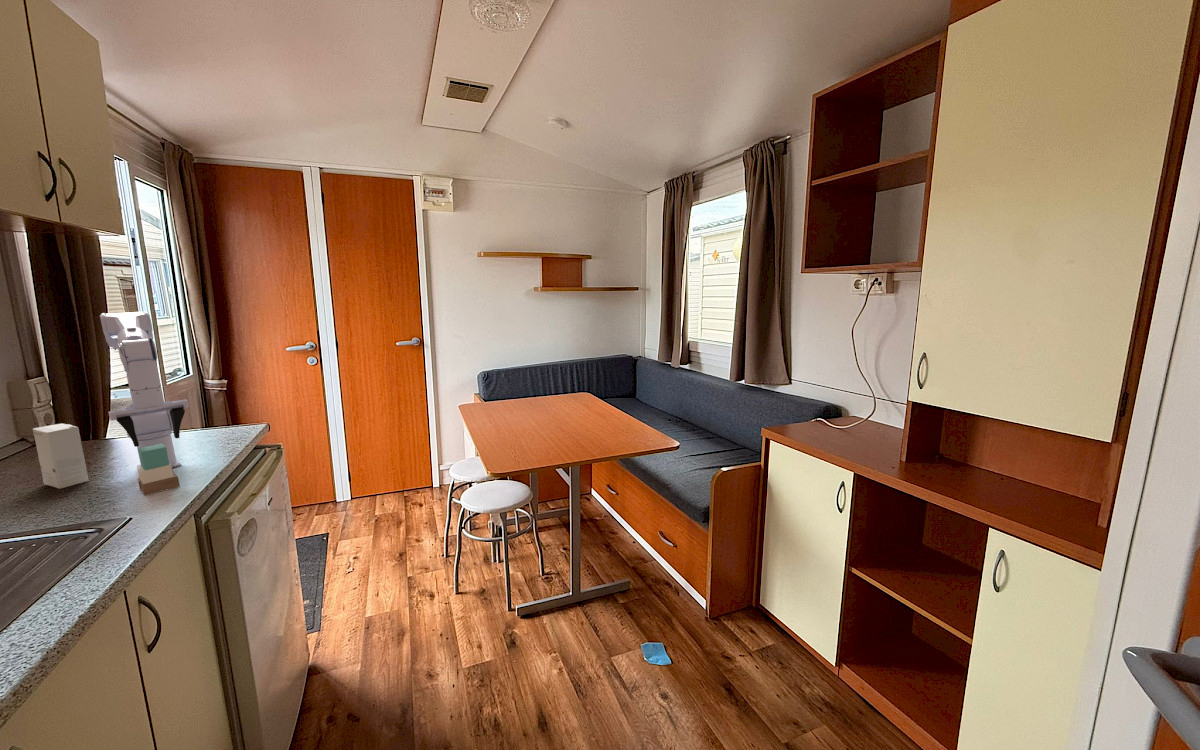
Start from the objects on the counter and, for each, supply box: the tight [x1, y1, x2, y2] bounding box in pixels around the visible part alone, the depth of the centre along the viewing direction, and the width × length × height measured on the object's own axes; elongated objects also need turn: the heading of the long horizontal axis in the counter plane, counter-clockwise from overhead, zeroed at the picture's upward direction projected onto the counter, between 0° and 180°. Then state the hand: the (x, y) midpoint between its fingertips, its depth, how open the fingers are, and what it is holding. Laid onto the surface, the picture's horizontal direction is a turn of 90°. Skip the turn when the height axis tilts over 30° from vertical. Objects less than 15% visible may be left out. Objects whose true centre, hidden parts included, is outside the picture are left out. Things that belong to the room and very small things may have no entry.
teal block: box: [137, 444, 170, 470], centre depth 119 cm, size 4×4×4 cm
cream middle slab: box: [136, 463, 174, 484], centre depth 120 cm, size 6×6×3 cm
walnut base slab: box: [137, 470, 181, 496], centre depth 121 cm, size 6×6×3 cm
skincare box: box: [32, 423, 90, 490], centre depth 125 cm, size 8×6×15 cm
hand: (157, 441), depth 123 cm, fingers open, 7 cm apart
